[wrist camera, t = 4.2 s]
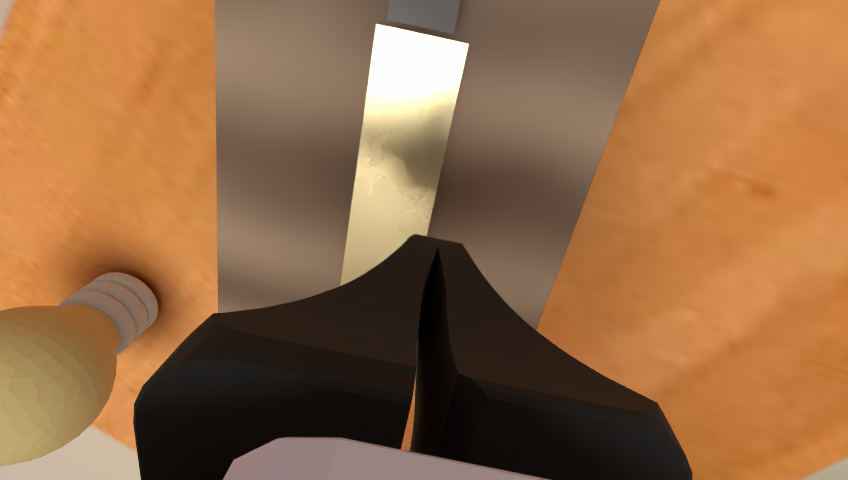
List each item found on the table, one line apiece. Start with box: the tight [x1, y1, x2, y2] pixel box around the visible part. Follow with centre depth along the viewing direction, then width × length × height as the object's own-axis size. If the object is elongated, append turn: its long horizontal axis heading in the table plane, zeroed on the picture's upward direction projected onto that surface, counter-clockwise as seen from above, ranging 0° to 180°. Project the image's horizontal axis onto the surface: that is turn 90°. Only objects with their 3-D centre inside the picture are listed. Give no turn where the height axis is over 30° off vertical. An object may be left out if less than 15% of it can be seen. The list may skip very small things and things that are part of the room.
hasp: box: [340, 24, 469, 286], centre depth 17 cm, size 11×3×1 cm, turn 169°
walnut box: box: [215, 0, 660, 378], centre depth 18 cm, size 18×14×6 cm
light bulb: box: [0, 272, 158, 466], centre depth 21 cm, size 6×6×10 cm
